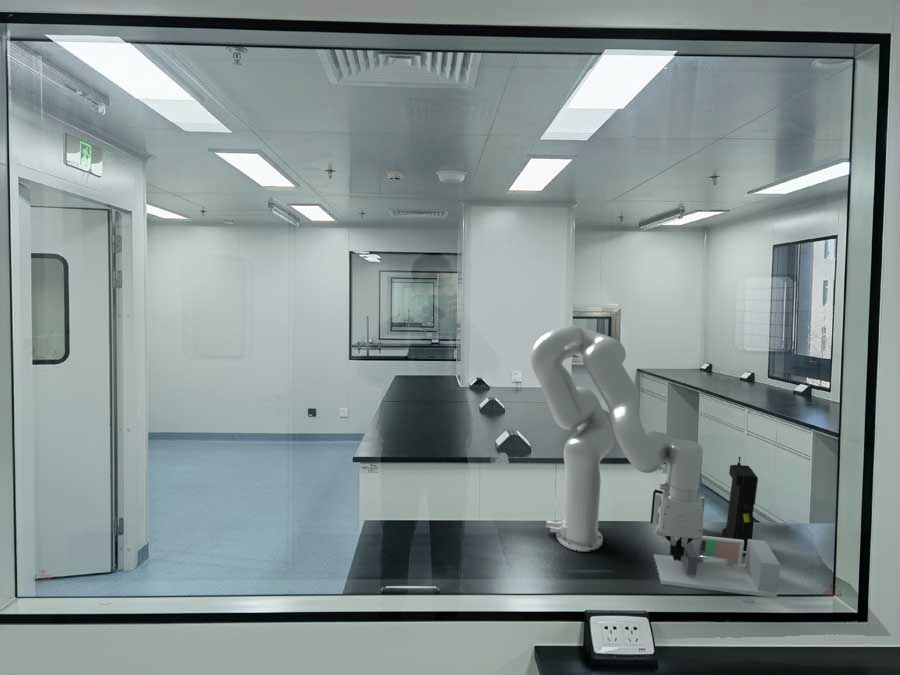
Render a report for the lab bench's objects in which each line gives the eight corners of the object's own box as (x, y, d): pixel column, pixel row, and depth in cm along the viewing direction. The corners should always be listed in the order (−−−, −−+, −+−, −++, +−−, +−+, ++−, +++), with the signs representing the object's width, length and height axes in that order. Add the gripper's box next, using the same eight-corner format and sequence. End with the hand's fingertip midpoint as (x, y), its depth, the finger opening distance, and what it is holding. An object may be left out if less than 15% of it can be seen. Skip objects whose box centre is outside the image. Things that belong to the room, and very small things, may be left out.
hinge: (701, 528, 160) (705, 496, 158) (702, 538, 155) (706, 505, 153) (650, 518, 165) (653, 488, 163) (650, 528, 160) (652, 496, 158)
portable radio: (753, 557, 146) (765, 470, 141) (728, 555, 147) (739, 468, 142) (744, 541, 153) (755, 457, 148) (720, 538, 155) (730, 455, 149)
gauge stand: (661, 584, 135) (664, 553, 133) (653, 557, 146) (656, 528, 144) (776, 597, 130) (781, 565, 129) (760, 569, 141) (764, 539, 139)
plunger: (687, 574, 136) (689, 554, 134) (680, 557, 143) (682, 538, 141) (735, 580, 134) (737, 560, 132) (726, 562, 141) (728, 543, 139)
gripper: (652, 494, 133) (647, 563, 136) (719, 500, 130) (711, 570, 134) (647, 480, 140) (642, 546, 144) (710, 486, 137) (704, 552, 141)
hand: (676, 557), depth 139 cm, fingers closed
